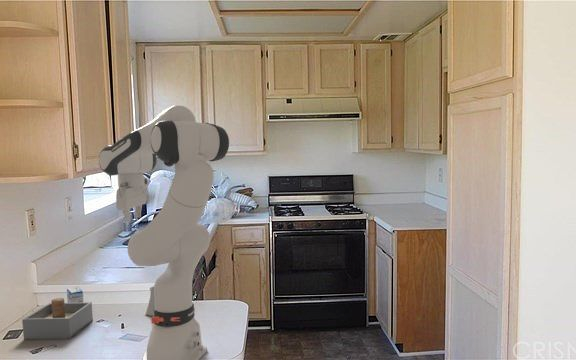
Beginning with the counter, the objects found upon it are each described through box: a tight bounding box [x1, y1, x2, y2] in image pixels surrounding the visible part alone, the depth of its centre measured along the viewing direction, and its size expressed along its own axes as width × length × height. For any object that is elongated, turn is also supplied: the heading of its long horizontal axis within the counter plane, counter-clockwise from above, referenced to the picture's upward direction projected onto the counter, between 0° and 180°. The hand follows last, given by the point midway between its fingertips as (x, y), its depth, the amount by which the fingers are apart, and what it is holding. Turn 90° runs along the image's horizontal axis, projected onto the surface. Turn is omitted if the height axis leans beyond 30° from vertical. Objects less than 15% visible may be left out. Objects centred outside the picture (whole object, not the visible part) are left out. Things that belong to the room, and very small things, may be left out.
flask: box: [145, 286, 155, 317], centre depth 174 cm, size 7×7×10 cm
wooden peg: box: [50, 297, 66, 318], centre depth 160 cm, size 4×4×10 cm
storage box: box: [21, 301, 94, 341], centre depth 160 cm, size 16×16×7 cm
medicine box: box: [66, 286, 85, 303], centre depth 179 cm, size 8×4×9 cm, turn 37°
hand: (133, 219), depth 166 cm, fingers open, 8 cm apart
